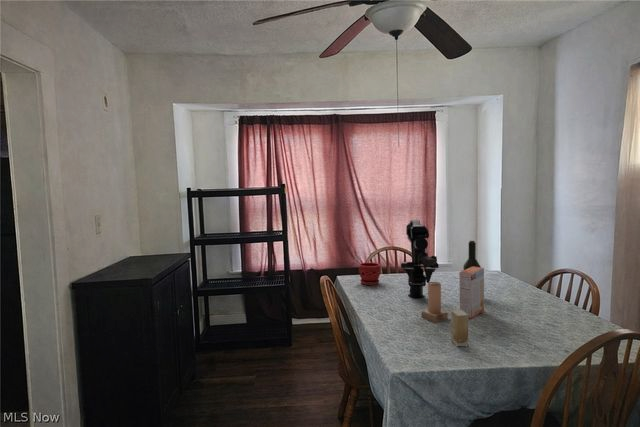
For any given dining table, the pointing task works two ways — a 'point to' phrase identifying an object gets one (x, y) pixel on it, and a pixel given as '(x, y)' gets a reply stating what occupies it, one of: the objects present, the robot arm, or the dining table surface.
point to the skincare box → (459, 327)
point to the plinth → (434, 316)
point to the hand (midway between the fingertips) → (420, 283)
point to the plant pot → (369, 273)
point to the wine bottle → (471, 256)
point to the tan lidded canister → (434, 297)
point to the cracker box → (472, 291)
